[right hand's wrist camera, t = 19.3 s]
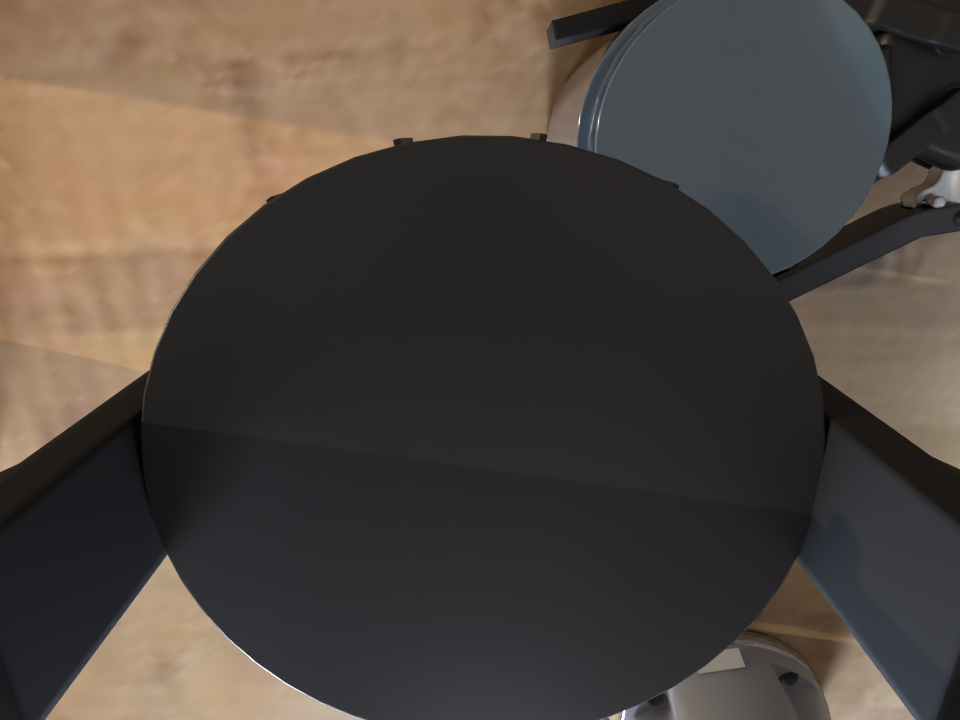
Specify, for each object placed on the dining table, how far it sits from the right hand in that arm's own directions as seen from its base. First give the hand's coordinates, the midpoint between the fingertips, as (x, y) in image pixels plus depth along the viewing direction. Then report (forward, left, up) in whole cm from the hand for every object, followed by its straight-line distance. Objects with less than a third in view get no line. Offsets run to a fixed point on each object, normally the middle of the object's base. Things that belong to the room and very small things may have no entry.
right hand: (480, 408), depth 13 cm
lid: (0, 0, +3) cm, 3 cm away
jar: (+7, -7, -24) cm, 26 cm away
